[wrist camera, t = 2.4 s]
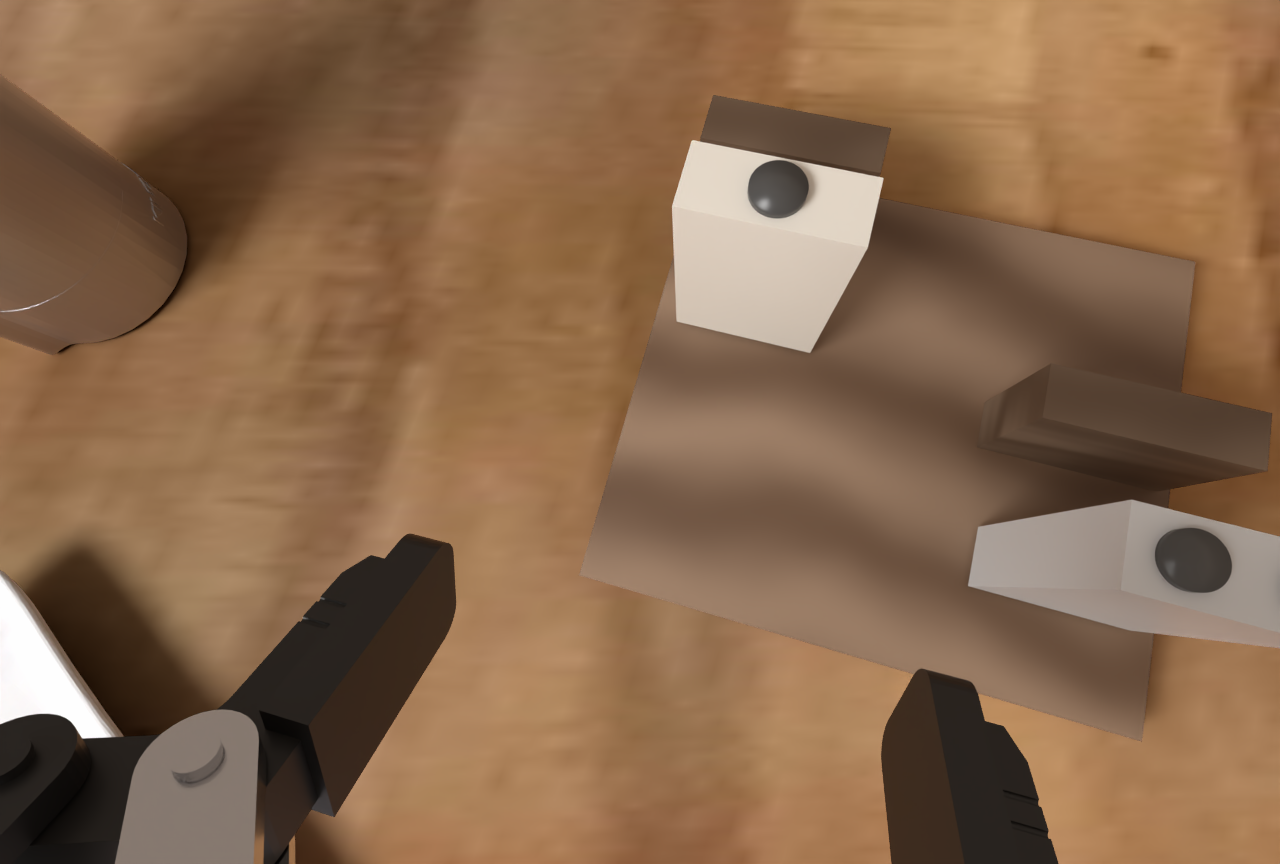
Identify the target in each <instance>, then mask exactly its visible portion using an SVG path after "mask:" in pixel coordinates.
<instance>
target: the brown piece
mask: <svg viewBox="0 0 1280 864" xmlns="http://www.w3.org/2000/svg"><path fill="white" fill-rule="evenodd" d="M890 130H891V128H887V127H882V126H876V125H871V124H866V123H860V122H855V121H849V120H844V119H839V118H833V117H828V116H823V115H817V114H812V113H807V112H801V111H796V110H791V109H785V108H780V107H775V106H769V105H764V104H759V103H753V102H748V101H743V100H737V99H732V98H727V97H721V96H716V95H713V98H712V101H711V104H710V108H709V111H708V114H707V118H706V121H705V124H704V128H703V131H702V135H701V139H700V142H704V143H709V144H715V145H720V146H725V147H730V148H735V149H740V150H745V151H750V152H755V153H760V154H765V155H770V156H775V157H780V158H785V159H790V160H796V161H801V162H806V163H811V164H816V165H821V166H826V167H831V168H836V169H841V170H846V171H851V172H856V173H861V174H866V175H871V176H877V177H879V176H880V173H881V170H882V165H883V161H884V156H885V152H886V148H887V143H888V139H889V135H890ZM1194 270H1195V262H1194V261H1189V260H1184V259H1179V258H1174V257H1169V256H1164V255H1159V254H1154V253H1149V252H1145V251H1140V250H1135V249H1130V248H1125V247H1120V246H1115V245H1110V244H1105V243H1100V242H1095V241H1090V240H1085V239H1080V238H1075V237H1070V236H1065V235H1060V234H1055V233H1050V232H1045V231H1040V230H1035V229H1030V228H1026V227H1021V226H1016V225H1011V224H1006V223H1001V222H996V221H991V220H986V219H981V218H976V217H971V216H966V215H961V214H956V213H951V212H946V211H941V210H936V209H931V208H926V207H921V206H916V205H911V204H907V203H902V202H897V201H892V200H887V199H882V198H879V201H878V205H877V209H876V214H875V218H874V223H873V227H872V231H871V236H870V240H869V245H868V248H867V250H866V252H865V254H864V256H863V257H862V259H861V261H860V263H859V265H858V266H857V268H856V270H855V272H854V274H853V276H852V277H851V279H850V281H849V283H848V285H847V287H846V288H845V290H844V292H843V294H842V296H841V297H840V299H839V301H838V303H837V305H836V307H835V308H834V310H833V312H832V314H831V316H830V318H829V319H828V321H827V323H826V325H825V327H824V328H823V330H822V332H821V334H820V336H819V338H818V339H817V341H816V343H815V345H814V347H813V349H812V350H811V352H810V353H808V352H804V351H799V350H795V349H791V348H787V347H783V346H778V345H774V344H770V343H766V342H761V341H757V340H753V339H749V338H744V337H740V336H736V335H732V334H727V333H723V332H719V331H715V330H711V329H706V328H702V327H698V326H694V325H689V324H685V323H681V322H677V320H676V294H675V269H674V256H673V260H672V263H671V267H670V270H669V273H668V277H667V280H666V283H665V287H664V290H663V294H662V297H661V300H660V304H659V307H658V311H657V314H656V317H655V321H654V324H653V327H652V331H651V334H650V338H649V341H648V344H647V348H646V351H645V354H644V358H643V361H642V365H641V368H640V371H639V375H638V378H637V381H636V385H635V388H634V392H633V395H632V398H631V402H630V405H629V409H628V412H627V415H626V419H625V422H624V425H623V429H622V432H621V436H620V439H619V442H618V446H617V449H616V452H615V456H614V459H613V463H612V466H611V469H610V473H609V476H608V480H607V483H606V486H605V490H604V493H603V496H602V500H601V503H600V507H599V510H598V513H597V517H596V520H595V523H594V527H593V530H592V534H591V537H590V540H589V544H588V547H587V550H586V554H585V557H584V561H583V564H582V567H581V571H580V574H579V575H580V576H584V577H587V578H590V579H594V580H597V581H600V582H604V583H607V584H611V585H614V586H617V587H621V588H624V589H628V590H631V591H634V592H638V593H641V594H644V595H648V596H651V597H655V598H658V599H661V600H665V601H668V602H672V603H675V604H678V605H682V606H685V607H688V608H692V609H695V610H699V611H702V612H705V613H709V614H712V615H715V616H719V617H722V618H726V619H729V620H732V621H736V622H739V623H743V624H746V625H749V626H753V627H756V628H759V629H763V630H766V631H770V632H773V633H776V634H780V635H783V636H786V637H790V638H793V639H797V640H800V641H803V642H807V643H810V644H814V645H817V646H820V647H824V648H827V649H830V650H834V651H837V652H841V653H844V654H847V655H851V656H854V657H858V658H861V659H864V660H868V661H871V662H874V663H878V664H881V665H885V666H888V667H891V668H895V669H898V670H901V671H905V672H908V673H912V674H915V672H916V671H917V670H918V669H921V668H922V669H926V670H930V671H934V672H938V673H942V674H945V675H949V676H953V677H957V678H961V679H965V680H968V681H971V682H972V683H973V684H974V686H975V688H976V690H977V693H979V694H983V695H986V696H989V697H993V698H996V699H1000V700H1003V701H1006V702H1010V703H1013V704H1016V705H1020V706H1023V707H1027V708H1030V709H1033V710H1037V711H1040V712H1044V713H1047V714H1050V715H1054V716H1057V717H1060V718H1064V719H1067V720H1071V721H1074V722H1077V723H1081V724H1084V725H1087V726H1091V727H1094V728H1098V729H1101V730H1104V731H1108V732H1111V733H1115V734H1118V735H1121V736H1125V737H1128V738H1131V739H1135V740H1138V741H1142V737H1143V728H1144V719H1145V710H1146V701H1147V692H1148V683H1149V674H1150V665H1151V656H1152V647H1153V638H1154V633H1147V632H1138V631H1130V630H1126V629H1122V628H1119V627H1115V626H1111V625H1108V624H1104V623H1100V622H1097V621H1093V620H1090V619H1086V618H1082V617H1079V616H1075V615H1071V614H1068V613H1064V612H1060V611H1057V610H1053V609H1050V608H1046V607H1042V606H1039V605H1035V604H1031V603H1028V602H1024V601H1020V600H1017V599H1013V598H1010V597H1006V596H1002V595H999V594H995V593H991V592H988V591H984V590H980V589H977V588H973V587H970V586H968V583H969V577H970V571H971V565H972V559H973V554H974V548H975V542H976V536H977V530H978V527H980V526H985V525H991V524H997V523H1002V522H1008V521H1014V520H1019V519H1025V518H1031V517H1036V516H1042V515H1048V514H1053V513H1059V512H1064V511H1070V510H1076V509H1081V508H1087V507H1093V506H1098V505H1104V504H1110V503H1115V502H1121V501H1127V500H1135V501H1139V502H1143V503H1147V504H1151V505H1155V506H1159V507H1163V508H1167V509H1168V504H1169V495H1170V489H1173V488H1179V487H1184V486H1190V485H1195V484H1200V483H1206V482H1211V481H1217V480H1222V479H1228V478H1233V477H1238V476H1244V475H1249V474H1255V473H1260V472H1265V471H1268V459H1269V446H1270V434H1271V421H1272V413H1268V412H1264V411H1259V410H1255V409H1251V408H1246V407H1242V406H1237V405H1233V404H1229V403H1224V402H1220V401H1215V400H1211V399H1207V398H1202V397H1198V396H1193V395H1189V394H1185V393H1181V387H1182V378H1183V369H1184V360H1185V351H1186V342H1187V333H1188V324H1189V315H1190V306H1191V297H1192V288H1193V279H1194Z"/></svg>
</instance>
